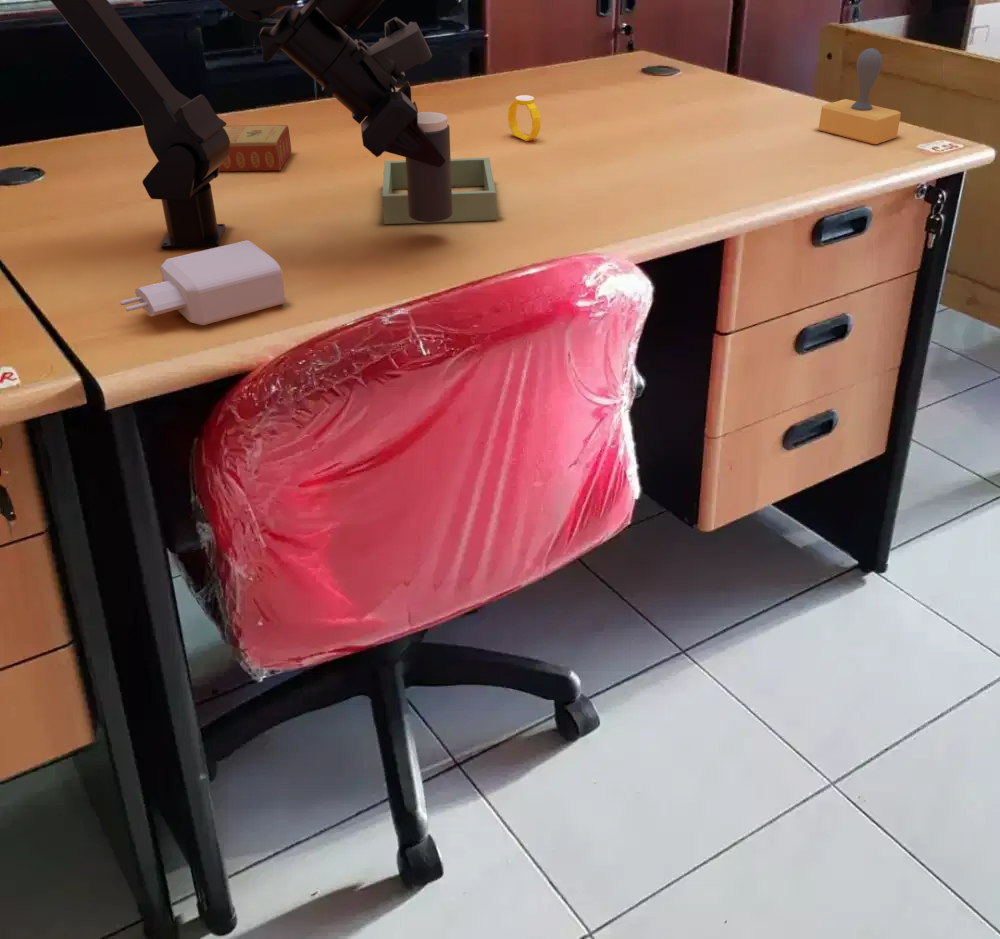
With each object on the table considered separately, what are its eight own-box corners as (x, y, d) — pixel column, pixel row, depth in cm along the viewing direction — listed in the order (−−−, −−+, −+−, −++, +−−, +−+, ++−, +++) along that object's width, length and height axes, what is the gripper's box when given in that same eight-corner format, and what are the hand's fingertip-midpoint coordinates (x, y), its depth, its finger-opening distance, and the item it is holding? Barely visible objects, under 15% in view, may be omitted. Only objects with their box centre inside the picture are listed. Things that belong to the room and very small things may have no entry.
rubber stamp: (897, 137, 157) (914, 51, 150) (874, 145, 154) (890, 57, 147) (840, 123, 163) (853, 39, 156) (816, 130, 160) (829, 45, 153)
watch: (504, 135, 160) (503, 94, 156) (518, 132, 161) (518, 91, 158) (529, 145, 156) (529, 103, 152) (544, 141, 157) (544, 99, 154)
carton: (280, 172, 147) (276, 140, 144) (164, 172, 147) (158, 141, 145) (292, 153, 154) (288, 123, 151) (181, 153, 154) (175, 123, 152)
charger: (113, 312, 110) (250, 278, 117) (143, 346, 103) (287, 307, 110) (103, 269, 107) (244, 236, 114) (133, 301, 101) (281, 264, 108)
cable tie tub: (452, 221, 122) (449, 123, 116) (408, 222, 121) (403, 124, 115) (451, 206, 126) (448, 110, 120) (408, 207, 126) (403, 111, 119)
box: (496, 220, 130) (495, 192, 128) (384, 224, 130) (381, 196, 128) (489, 183, 142) (489, 157, 140) (386, 187, 141) (384, 160, 139)
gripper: (388, 15, 103) (503, 126, 110) (377, -18, 118) (478, 81, 125) (313, 103, 106) (430, 205, 113) (312, 60, 121) (414, 152, 129)
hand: (440, 156), depth 120 cm, fingers closed on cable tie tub, 5 cm apart
